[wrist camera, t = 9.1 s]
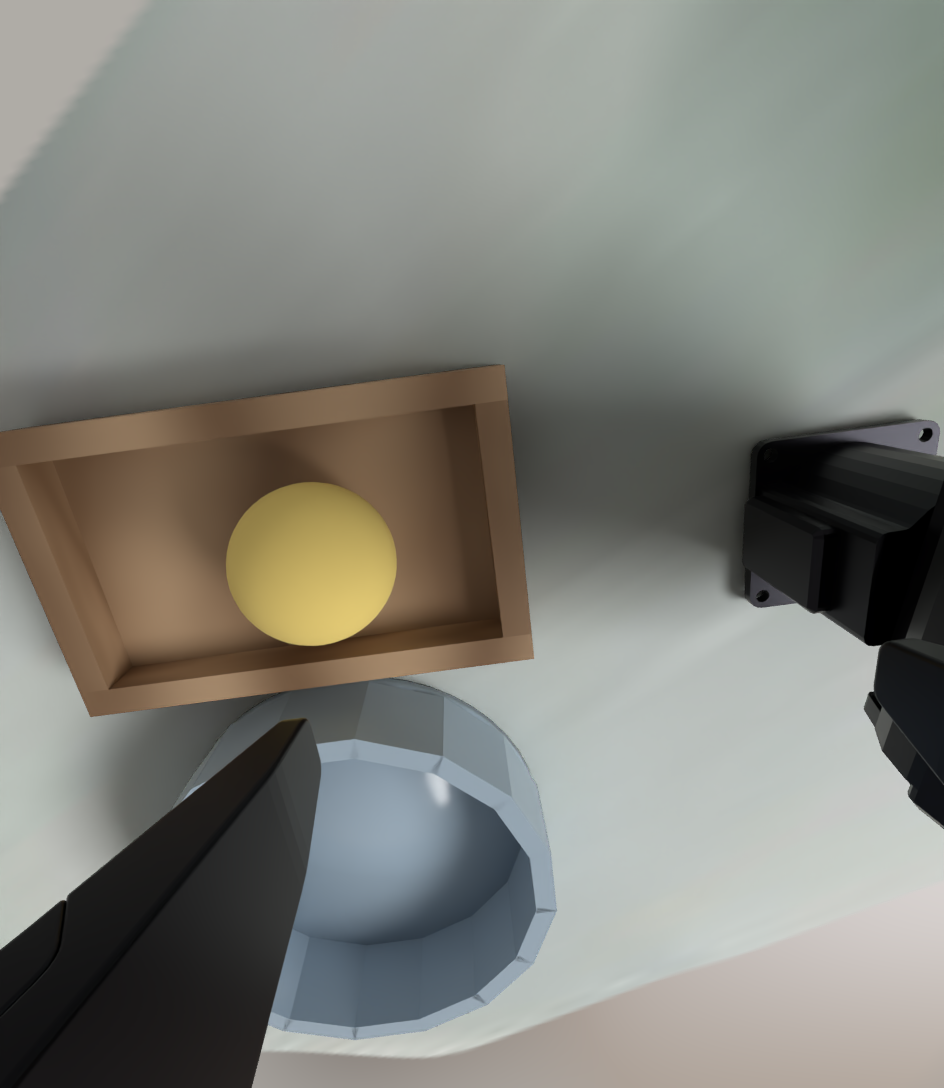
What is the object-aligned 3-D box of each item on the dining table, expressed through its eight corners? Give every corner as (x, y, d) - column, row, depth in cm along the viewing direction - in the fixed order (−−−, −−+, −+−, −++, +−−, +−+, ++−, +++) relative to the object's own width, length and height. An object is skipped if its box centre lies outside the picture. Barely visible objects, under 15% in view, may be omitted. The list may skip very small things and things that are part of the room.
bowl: (521, 653, 22) (536, 715, 18) (550, 920, 27) (567, 1012, 23) (146, 702, 22) (82, 774, 18) (246, 960, 27) (213, 1058, 23)
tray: (497, 364, 18) (504, 364, 16) (524, 625, 21) (533, 658, 19) (31, 426, 18) (-31, 436, 16) (130, 677, 21) (90, 717, 19)
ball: (341, 460, 19) (412, 473, 15) (368, 588, 20) (438, 630, 17) (189, 494, 16) (226, 521, 12) (233, 638, 18) (279, 702, 14)
